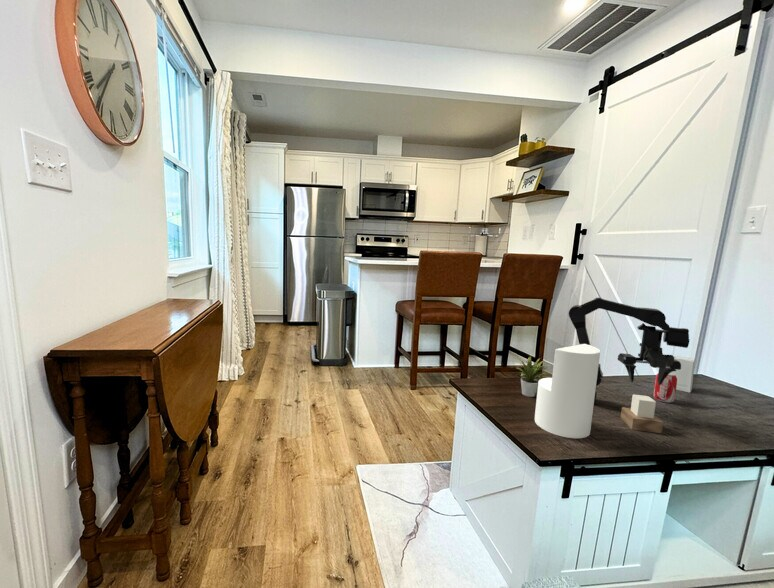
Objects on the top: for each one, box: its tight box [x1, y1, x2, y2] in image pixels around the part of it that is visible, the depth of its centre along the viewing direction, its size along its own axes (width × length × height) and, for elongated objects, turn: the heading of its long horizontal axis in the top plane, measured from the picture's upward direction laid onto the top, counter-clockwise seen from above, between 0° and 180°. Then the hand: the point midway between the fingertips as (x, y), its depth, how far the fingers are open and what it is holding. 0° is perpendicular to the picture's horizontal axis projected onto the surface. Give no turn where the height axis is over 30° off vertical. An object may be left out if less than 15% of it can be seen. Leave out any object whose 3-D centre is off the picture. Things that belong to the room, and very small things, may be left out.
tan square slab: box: [620, 406, 664, 434], centre depth 124 cm, size 9×9×4 cm
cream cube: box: [630, 394, 657, 418], centre depth 123 cm, size 5×5×6 cm
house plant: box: [515, 355, 552, 398], centre depth 145 cm, size 14×14×16 cm
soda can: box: [653, 372, 677, 404], centre depth 147 cm, size 7×7×12 cm
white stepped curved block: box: [534, 344, 601, 439], centre depth 120 cm, size 17×17×28 cm
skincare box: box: [672, 354, 696, 393], centre depth 161 cm, size 8×6×15 cm
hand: (645, 383), depth 132 cm, fingers open, 9 cm apart
